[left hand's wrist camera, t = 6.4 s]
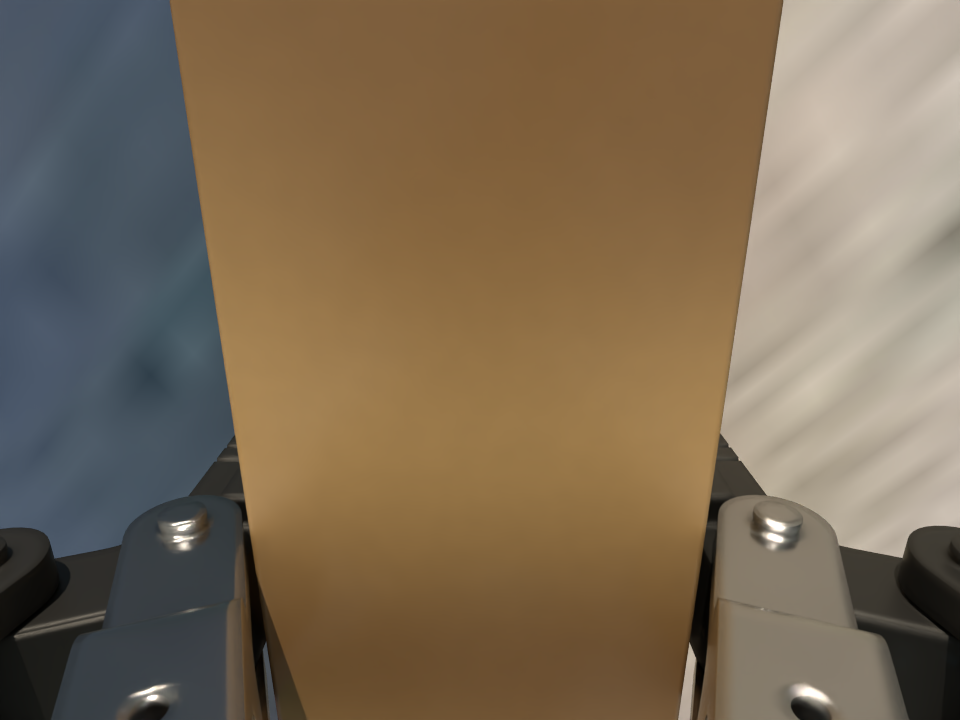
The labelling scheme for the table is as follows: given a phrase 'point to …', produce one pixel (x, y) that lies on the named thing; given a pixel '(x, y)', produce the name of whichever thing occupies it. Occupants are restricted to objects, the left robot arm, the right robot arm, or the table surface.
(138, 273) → the table surface
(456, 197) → the beam
